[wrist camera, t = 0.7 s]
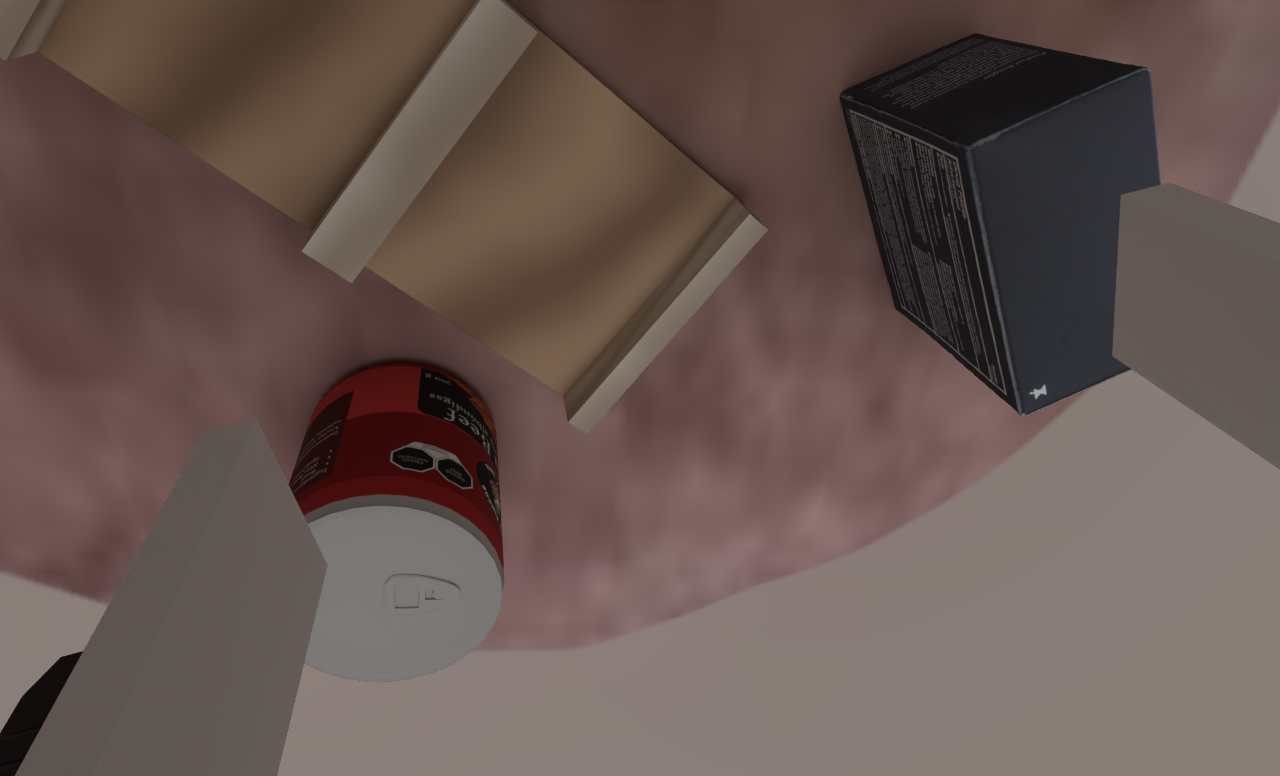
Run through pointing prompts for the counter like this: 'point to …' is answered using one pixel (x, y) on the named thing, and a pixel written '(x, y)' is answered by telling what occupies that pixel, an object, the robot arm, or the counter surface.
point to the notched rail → (486, 203)
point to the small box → (1007, 204)
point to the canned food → (401, 522)
